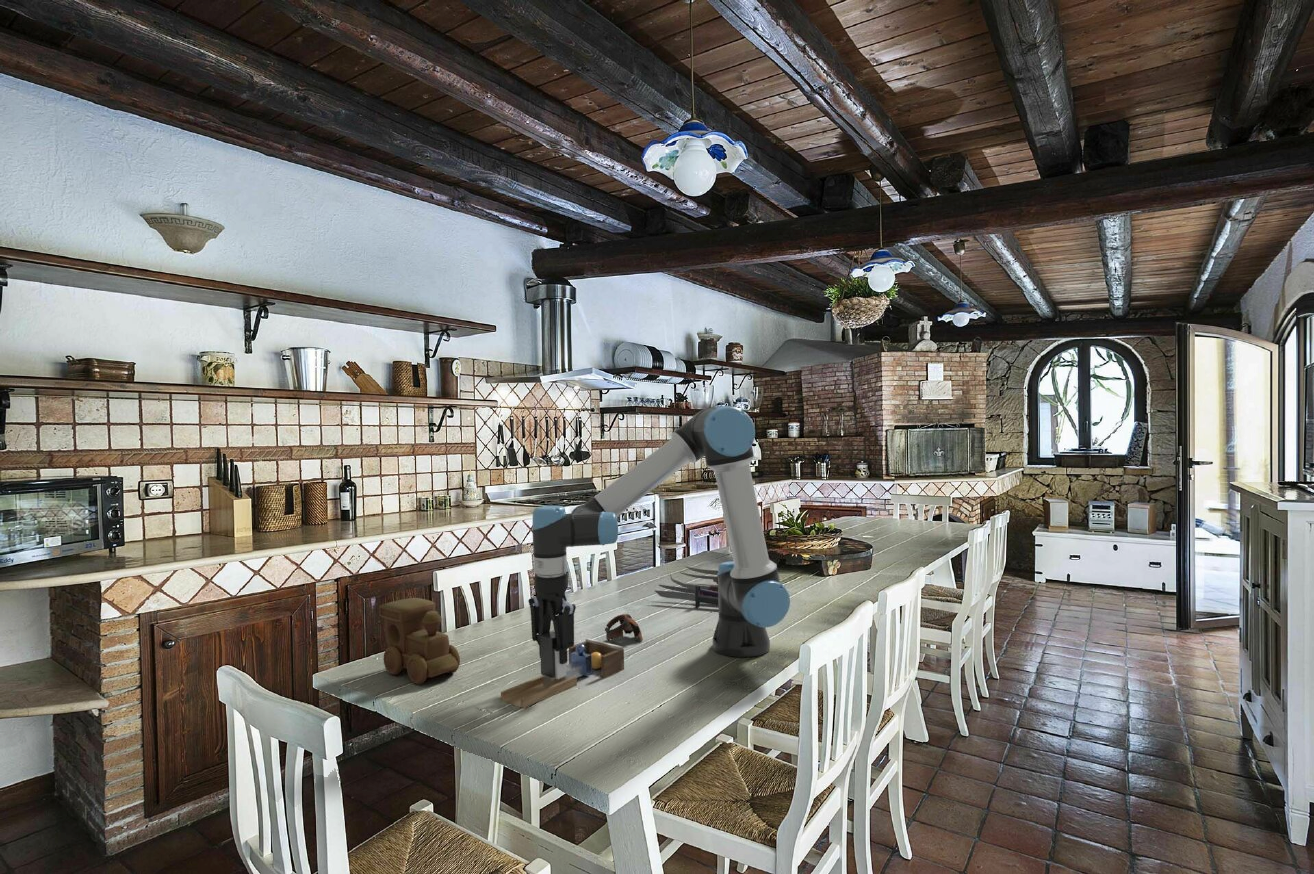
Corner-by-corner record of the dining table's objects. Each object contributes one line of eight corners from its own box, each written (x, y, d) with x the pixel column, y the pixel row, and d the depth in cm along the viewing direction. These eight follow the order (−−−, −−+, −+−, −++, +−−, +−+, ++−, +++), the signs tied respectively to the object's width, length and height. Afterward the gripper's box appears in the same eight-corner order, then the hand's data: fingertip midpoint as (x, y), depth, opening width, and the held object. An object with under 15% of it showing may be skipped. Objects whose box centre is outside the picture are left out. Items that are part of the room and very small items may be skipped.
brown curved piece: (644, 647, 186) (629, 623, 185) (614, 661, 188) (599, 638, 186) (646, 623, 198) (632, 601, 196) (618, 637, 200) (603, 614, 198)
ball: (595, 658, 167) (597, 673, 167) (606, 650, 170) (608, 665, 170) (583, 654, 169) (585, 670, 170) (594, 647, 172) (596, 662, 173)
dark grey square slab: (592, 673, 165) (591, 625, 165) (554, 689, 156) (553, 638, 155) (577, 669, 168) (576, 622, 168) (539, 684, 159) (538, 635, 158)
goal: (624, 669, 169) (623, 646, 169) (604, 677, 163) (604, 654, 163) (588, 659, 176) (588, 637, 176) (569, 667, 171) (568, 645, 171)
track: (576, 684, 159) (576, 677, 159) (523, 708, 147) (523, 699, 147) (554, 678, 164) (554, 670, 164) (500, 700, 151) (500, 691, 151)
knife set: (683, 577, 262) (684, 557, 262) (769, 588, 249) (769, 567, 249) (647, 602, 230) (647, 579, 229) (742, 616, 217) (743, 592, 217)
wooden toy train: (377, 671, 171) (375, 605, 170) (418, 658, 180) (416, 595, 179) (423, 690, 158) (421, 618, 158) (465, 675, 167) (463, 607, 167)
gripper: (513, 572, 160) (516, 672, 161) (564, 581, 150) (568, 688, 150) (537, 566, 166) (541, 662, 167) (588, 575, 156) (592, 677, 156)
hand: (553, 674), depth 159 cm, fingers closed on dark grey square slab, 4 cm apart
